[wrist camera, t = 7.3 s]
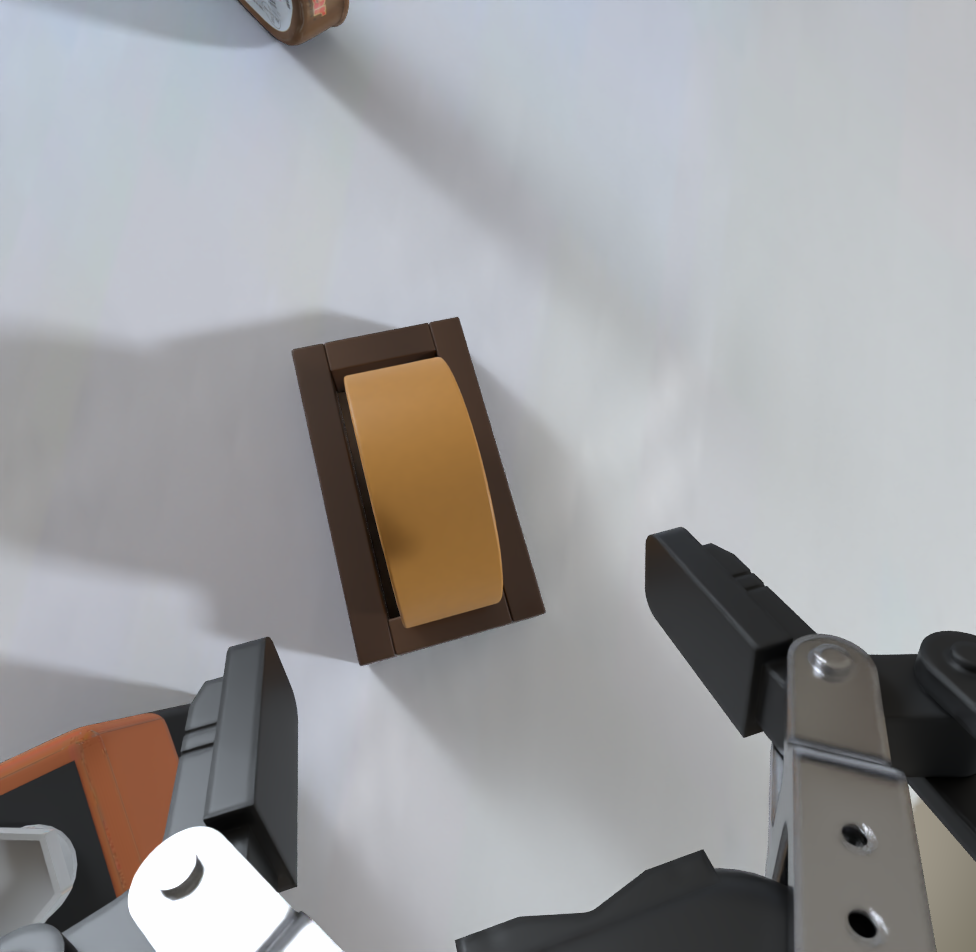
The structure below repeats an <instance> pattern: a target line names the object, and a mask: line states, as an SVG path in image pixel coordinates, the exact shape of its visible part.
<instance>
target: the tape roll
mask: <svg viewBox="0 0 976 952" xmlns="http://www.w3.org/2000/svg"><path fill="white" fill-rule="evenodd" d="M344 385H345V390H346V395H347V400H348V405H349V409H350V414H351V418H352V423H353V427H354V432H355V436H356V440H357V445H358V449H359V453H360V458H361V462H362V467H363V471H364V475H365V480H366V484H367V488H368V492H369V496H370V501H371V505H372V509H373V513H374V517H375V521H376V525H377V529H378V533H379V537H380V541H381V544H382V548H383V552H384V556H385V560H386V564H387V568H388V572H389V576H390V580H391V583H392V587H393V591H394V595H395V599H396V602H397V606H398V609H399V613H400V616H401V620H402V623H403V626H404V627H405V628H410V627H414V626H418V625H421V624H425V623H428V622H432V621H436V620H439V619H443V618H446V617H450V616H453V615H457V614H461V613H464V612H468V611H471V610H475V609H478V608H482V607H486V606H489V605H493V604H496V603H498V602H499V601H500V600H501V597H502V591H503V572H502V560H501V552H500V545H499V538H498V532H497V526H496V521H495V515H494V510H493V506H492V501H491V496H490V492H489V487H488V483H487V478H486V474H485V470H484V466H483V462H482V459H481V455H480V451H479V448H478V444H477V440H476V437H475V434H474V430H473V427H472V424H471V421H470V418H469V414H468V411H467V408H466V406H465V403H464V400H463V397H462V394H461V392H460V389H459V387H458V385H457V382H456V380H455V378H454V376H453V374H452V372H451V370H450V368H449V366H448V365H447V363H446V362H445V361H444V360H443V359H442V358H440V357H435V358H430V359H425V360H420V361H415V362H411V363H406V364H401V365H396V366H391V367H386V368H381V369H377V370H372V371H367V372H362V373H357V374H352V375H347V376H345V377H344Z"/></svg>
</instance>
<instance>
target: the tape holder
mask: <svg viewBox="0 0 976 952" xmlns="http://www.w3.org/2000/svg"><path fill="white" fill-rule="evenodd" d="M292 356H293V361H294V366H295V370H296V375H297V379H298V384H299V389H300V393H301V398H302V402H303V407H304V412H305V416H306V421H307V426H308V430H309V435H310V439H311V444H312V449H313V453H314V458H315V463H316V467H317V472H318V476H319V481H320V486H321V490H322V495H323V500H324V504H325V509H326V513H327V518H328V523H329V527H330V532H331V536H332V541H333V546H334V550H335V555H336V560H337V564H338V569H339V573H340V578H341V583H342V587H343V592H344V597H345V601H346V606H347V610H348V615H349V620H350V624H351V629H352V633H353V638H354V643H355V647H356V652H357V657H358V661H359V665H360V666H364V665H369V664H372V663H376V662H379V661H383V660H386V659H390V658H393V657H396V656H398V655H404V654H407V653H411V652H414V651H417V650H421V649H424V648H428V647H431V646H435V645H438V644H442V643H445V642H449V641H452V640H456V639H459V638H463V637H466V636H470V635H473V634H477V633H480V632H484V631H487V630H491V629H494V628H498V627H501V626H505V625H508V624H512V623H515V622H519V621H522V620H526V619H529V618H533V617H536V616H539V615H542V614H544V613H546V610H545V607H544V604H543V600H542V597H541V594H540V590H539V587H538V583H537V580H536V577H535V573H534V570H533V567H532V563H531V560H530V556H529V553H528V550H527V546H526V543H525V539H524V536H523V533H522V529H521V526H520V523H519V519H518V516H517V512H516V509H515V506H514V502H513V499H512V496H511V492H510V489H509V485H508V482H507V479H506V475H505V472H504V468H503V465H502V462H501V458H500V455H499V452H498V448H497V445H496V441H495V438H494V435H493V431H492V428H491V425H490V421H489V418H488V414H487V411H486V408H485V404H484V401H483V397H482V394H481V391H480V387H479V384H478V381H477V377H476V374H475V370H474V367H473V364H472V360H471V357H470V354H469V350H468V347H467V343H466V340H465V337H464V333H463V330H462V326H461V323H460V320H459V318H458V317H455V318H450V319H445V320H439V321H434V322H430V323H429V324H428V323H424V324H419V325H414V326H409V327H404V328H399V329H394V330H389V331H383V332H378V333H373V334H368V335H363V336H358V337H353V338H348V339H343V340H337V341H332V342H327V343H324V345H323V344H318V345H312V346H307V347H302V348H297V349H293V350H292ZM435 357H440V358H442V359H443V360H444V361H445V362H446V363H447V365H448V366H449V368H450V370H451V372H452V374H453V376H454V378H455V380H456V382H457V385H458V387H459V389H460V392H461V394H462V397H463V400H464V403H465V406H466V408H467V411H468V414H469V418H470V421H471V424H472V427H473V430H474V434H475V437H476V440H477V444H478V448H479V451H480V455H481V459H482V462H483V466H484V470H485V474H486V478H487V483H488V487H489V492H490V496H491V501H492V506H493V510H494V515H495V521H496V526H497V532H498V538H499V545H500V552H501V560H502V572H503V591H502V597H501V600H500V601H499V602H498V603H496V604H493V605H489V606H486V607H482V608H478V609H475V610H471V611H468V612H464V613H461V614H457V615H453V616H450V617H446V618H443V619H439V620H436V621H432V622H428V623H425V624H421V625H418V626H414V627H410V628H405V627H404V626H403V623H402V620H401V616H399V617H396V618H392V619H390V618H389V613H388V609H387V605H386V601H385V596H384V592H383V588H382V583H381V579H380V575H379V570H378V566H377V562H376V558H375V553H374V549H373V545H372V540H371V536H370V532H369V527H368V523H367V519H366V515H365V510H364V506H363V502H362V497H361V493H360V489H359V485H358V480H357V476H356V472H355V467H354V463H353V459H352V454H351V450H350V446H349V442H348V437H347V433H346V429H345V424H344V420H343V416H342V411H341V407H340V403H339V399H338V394H337V392H343V391H346V390H345V385H344V377H345V376H347V375H352V374H357V373H362V372H367V371H372V370H377V369H381V368H386V367H391V366H396V365H401V364H406V363H411V362H415V361H420V360H425V359H430V358H435Z"/></svg>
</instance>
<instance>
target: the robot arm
mask: <svg viewBox="0 0 976 952" xmlns="http://www.w3.org/2000/svg"><path fill="white" fill-rule="evenodd" d="M645 593H646V598H647V602H648V605H649V608H650V610H651V612H652V614H653V616H654V617H655V619H656V620H657V622H658V623H659V624H660V626H661V627H662V628H663V630H664V631H665V632H666V634H667V635H668V636H669V638H670V639H671V640H672V642H673V643H674V644H675V646H676V647H677V649H678V650H679V651H680V653H681V654H682V655H683V657H684V658H685V659H686V661H687V662H688V663H689V665H690V666H691V667H692V669H693V670H694V672H695V673H696V674H697V676H698V677H699V678H700V680H701V681H702V682H703V684H704V685H705V686H706V688H707V689H708V690H709V692H710V693H711V695H712V696H713V697H714V699H715V700H716V701H717V703H718V704H719V705H720V707H721V708H722V709H723V711H724V712H725V713H726V715H727V716H728V717H729V719H730V720H731V722H732V723H733V724H734V726H735V727H736V728H737V730H738V731H739V732H740V734H741V735H742V736H743V738H745V737H748V736H751V735H754V734H757V733H760V732H763V731H764V733H765V734H766V735H767V736H768V738H769V739H770V740H771V741H772V744H771V751H770V786H769V829H768V850H767V860H766V869H765V877H764V876H761V875H758V874H755V873H751V872H746V871H741V870H735V869H723V868H716V869H714V868H713V866H712V864H711V862H710V860H709V859H708V857H707V855H706V853H705V852H704V850H700V851H697V852H694V853H692V854H689V855H686V856H684V857H681V858H678V859H675V860H673V861H670V862H667V863H664V864H662V865H659V866H656V867H654V868H651V869H648V870H645V871H644V872H643V873H642V874H640V875H639V876H638V877H636V878H635V879H634V880H632V881H631V882H630V883H628V884H627V885H626V886H625V887H623V888H622V889H621V890H619V891H618V892H617V893H615V894H614V895H613V896H612V897H610V898H609V899H608V900H606V901H605V902H604V903H602V904H601V905H600V906H599V907H597V908H596V909H594V910H592V911H590V912H586V913H574V914H557V915H540V916H524V917H517V918H515V919H512V920H509V921H506V922H504V923H501V924H498V925H496V926H493V927H490V928H487V929H485V930H482V931H479V932H476V933H474V934H471V935H468V936H466V937H463V938H460V939H457V940H455V943H456V948H457V952H937V951H936V945H935V939H934V933H933V928H932V922H931V916H930V910H929V904H928V899H927V893H926V887H925V881H924V875H923V869H922V863H921V857H920V852H919V846H918V840H917V834H916V829H915V824H914V817H913V811H912V805H911V799H910V793H909V787H908V784H909V785H910V786H911V788H912V789H913V790H914V791H915V792H916V793H917V794H918V796H919V797H920V798H921V799H922V800H923V801H924V803H925V804H926V805H927V806H928V807H929V808H930V809H931V811H932V812H933V813H934V814H935V815H936V816H937V818H938V819H939V820H940V821H941V822H942V823H943V824H944V826H945V827H946V828H947V829H948V830H949V831H950V833H951V834H952V835H953V836H954V837H955V838H956V840H957V841H958V842H959V843H960V844H961V845H962V846H963V848H964V849H965V850H966V851H967V852H968V853H969V854H970V856H971V857H972V858H973V859H974V860H975V861H976V636H975V635H972V634H968V633H963V632H957V631H941V632H936V633H933V634H930V635H929V636H927V637H926V638H925V639H924V640H923V641H922V643H921V646H920V649H919V652H918V654H901V655H868V654H867V653H866V652H865V651H864V650H863V649H861V648H860V647H859V646H857V645H855V644H854V643H852V642H850V641H847V640H845V639H843V638H840V637H837V636H832V635H826V634H817V633H816V632H814V631H813V630H812V629H811V628H810V627H809V626H808V625H807V624H806V623H805V622H804V621H803V620H802V619H801V618H800V617H799V616H798V615H797V614H796V613H795V612H794V611H793V610H792V609H790V608H789V607H788V606H787V605H786V604H785V603H784V602H783V601H782V600H781V599H780V598H779V597H778V596H777V595H776V594H775V593H774V592H773V591H772V590H771V589H770V588H769V587H767V586H764V583H763V582H762V581H761V580H760V579H759V578H758V577H757V576H756V575H755V574H754V573H751V572H750V569H749V568H748V567H747V566H746V565H745V564H743V563H742V562H741V561H740V560H739V559H738V558H737V557H736V556H735V555H734V554H732V553H730V552H728V551H726V550H724V549H722V548H720V547H718V546H716V545H714V544H712V543H710V544H706V545H703V546H702V545H701V544H700V543H699V542H698V541H697V540H696V539H695V538H694V537H693V536H692V535H691V534H690V533H689V532H688V531H687V530H686V529H685V528H683V527H678V528H674V529H671V530H667V531H663V532H660V533H656V534H652V535H649V536H648V537H647V539H646V554H645ZM297 795H298V714H297V707H296V702H295V697H294V693H293V690H292V688H291V685H290V683H289V680H288V678H287V675H286V673H285V670H284V668H283V666H282V663H281V661H280V658H279V656H278V653H277V651H276V649H275V646H274V644H273V642H272V640H271V639H270V637H265V638H261V639H258V640H254V641H250V642H246V643H243V644H239V645H235V646H232V647H229V649H228V651H227V656H226V663H225V669H224V676H223V677H220V678H217V679H213V680H210V681H206V682H205V683H204V684H203V686H202V687H201V689H200V691H199V692H198V694H197V695H196V697H195V698H194V700H193V702H192V703H191V705H190V706H189V711H188V716H187V721H186V726H185V736H184V737H183V742H182V747H181V757H179V762H178V767H177V772H176V777H175V782H174V787H173V792H172V797H171V802H170V808H169V813H168V818H167V823H166V828H165V833H164V837H163V840H162V843H161V844H160V845H159V846H157V847H156V848H155V849H154V850H153V851H152V852H151V853H150V854H149V855H148V857H147V858H146V859H145V860H144V861H143V863H142V864H141V866H140V867H139V869H138V871H137V872H136V874H135V876H134V878H133V881H132V884H131V887H130V888H129V889H128V890H127V891H125V892H124V893H123V894H122V895H120V896H119V897H118V898H116V899H115V900H113V901H112V902H110V903H109V904H107V905H105V906H104V907H102V908H101V909H99V910H98V911H96V912H94V913H93V914H91V915H90V916H88V917H86V918H85V919H83V920H82V921H80V922H78V923H77V924H75V925H74V926H72V927H71V928H69V929H67V930H66V931H64V932H63V933H61V932H60V931H59V930H58V929H57V928H55V927H54V926H52V925H49V924H45V923H36V924H30V925H26V926H23V927H20V928H18V929H16V930H14V931H11V932H10V933H8V934H6V935H5V936H3V937H1V938H0V952H343V951H342V950H341V949H340V948H339V947H338V946H337V945H336V944H335V943H334V941H333V940H332V939H331V938H330V937H329V936H328V935H327V934H326V933H325V932H324V931H323V930H322V929H321V928H320V927H319V926H318V925H317V924H316V923H315V922H314V921H313V920H312V919H311V918H310V917H309V916H308V915H306V914H305V913H304V912H302V911H300V912H299V913H298V912H296V911H295V910H294V909H293V908H292V907H291V906H290V905H289V904H288V903H287V902H286V901H285V900H284V899H283V898H282V897H281V896H280V895H279V894H278V893H279V892H282V891H285V890H288V889H291V888H294V887H297Z"/></svg>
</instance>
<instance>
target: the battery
mask: <svg viewBox="0 0 976 952" xmlns="http://www.w3.org/2000/svg"><path fill="white" fill-rule="evenodd" d="M190 705H191V704H187V705H182V706H177V707H173V708H168V709H163V710H159V711H154V712H149V713H144V714H140V715H135V716H130V717H126V718H121V719H116V720H112V721H107V722H102V723H97V724H93V725H88V726H84V727H80V728H77V729H75V730H72V731H70V732H67V733H65V734H63V735H61V736H58V737H56V738H54V739H52V740H50V741H47V742H45V743H43V744H41V745H39V746H37V747H35V748H32V749H30V750H28V751H26V752H24V753H22V754H20V755H17V756H15V757H13V758H11V759H9V760H7V761H5V762H2V763H0V938H1V937H3V936H5V935H6V934H8V933H10V932H11V931H14V930H16V929H18V928H20V927H23V926H26V925H30V924H36V923H45V924H49V925H52V926H54V927H55V928H57V929H58V930H59V931H60V932H61V933H63V932H64V931H66V930H67V929H69V928H71V927H72V926H74V925H75V924H77V923H78V922H80V921H82V920H83V919H85V918H86V917H88V916H90V915H91V914H93V913H94V912H96V911H98V910H99V909H101V908H102V907H104V906H105V905H107V904H109V903H110V902H112V901H113V900H115V899H116V898H118V897H119V896H120V895H122V894H123V893H124V892H125V891H127V890H128V889H129V888H130V887H131V884H132V881H133V878H134V876H135V874H136V872H137V871H138V869H139V867H140V866H141V864H142V863H143V861H144V860H145V859H146V858H147V857H148V855H149V854H150V853H151V852H152V851H153V850H154V849H155V848H156V847H157V846H159V845H160V844H161V843H162V840H163V837H164V833H165V828H166V823H167V818H168V813H169V808H170V802H171V797H172V792H173V787H174V782H175V777H176V772H177V767H178V762H179V757H181V747H182V742H183V737H184V736H185V726H186V721H187V716H188V711H189V706H190Z"/></svg>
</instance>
